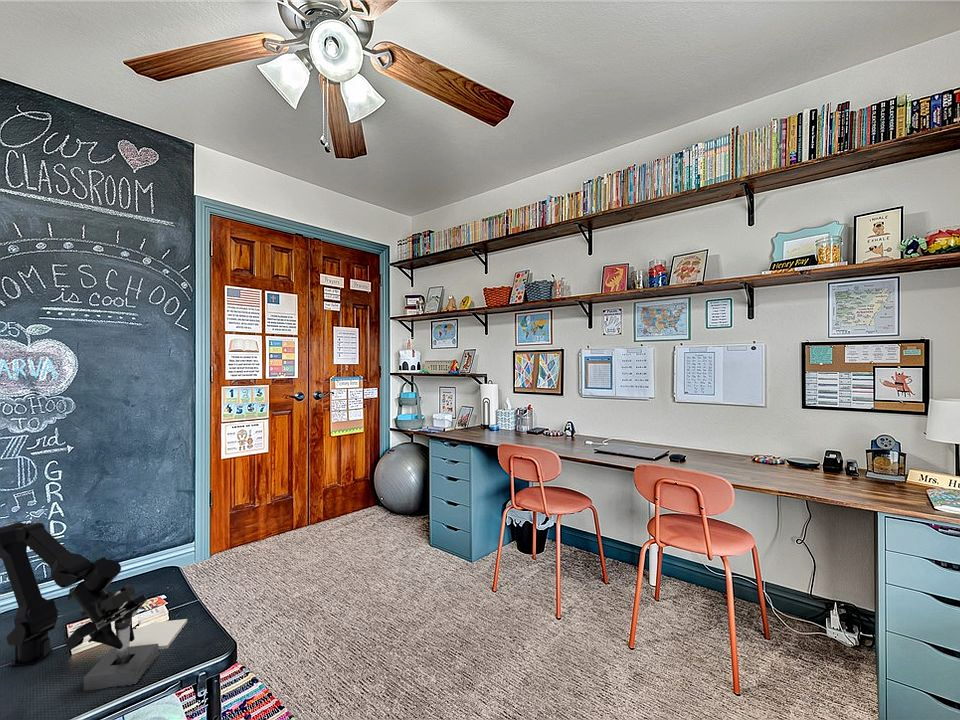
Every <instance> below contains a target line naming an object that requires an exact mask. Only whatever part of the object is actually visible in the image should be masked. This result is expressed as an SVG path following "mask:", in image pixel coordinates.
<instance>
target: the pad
mask: <svg viewBox="0 0 960 720" xmlns="http://www.w3.org/2000/svg"><path fill="white" fill-rule="evenodd" d="M150 623H151V624H149V625H146V626H143V627H140V628H136V627H135V628H136V629H135V628H133V633H134V638H135V639H134V640H133V641H132V642H131V641H130V647H131V646H140V645H149V644H158V651H159V650H167V649H169V647H170V646H171V644H172V643H173V641H174V640H175V639H176V638H177V636H178V635H179V634H180V632H181V631H182V630H183V629H182V628H184V627H185V626H186V625H187V623H188V618H184V619H183V618H182V619H174V620H166V621H165V620H164V621H154V623H153V622H150Z"/></svg>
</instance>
